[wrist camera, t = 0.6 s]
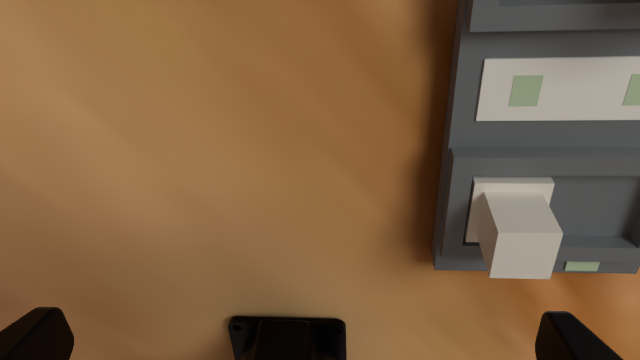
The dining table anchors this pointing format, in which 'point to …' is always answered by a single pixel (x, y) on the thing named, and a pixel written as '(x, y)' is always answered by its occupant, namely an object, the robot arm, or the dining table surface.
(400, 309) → the dining table surface
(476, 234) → the tab
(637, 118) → the switch bank
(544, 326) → the robot arm
